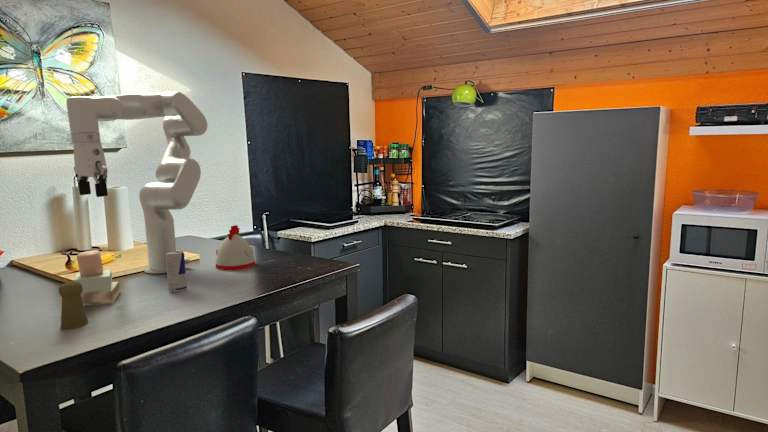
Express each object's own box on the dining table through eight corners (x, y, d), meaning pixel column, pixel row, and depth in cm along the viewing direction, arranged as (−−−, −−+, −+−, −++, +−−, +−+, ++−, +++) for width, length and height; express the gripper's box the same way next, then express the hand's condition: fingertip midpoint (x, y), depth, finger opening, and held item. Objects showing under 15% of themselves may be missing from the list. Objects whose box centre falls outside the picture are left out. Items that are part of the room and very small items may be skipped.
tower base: (120, 294, 161) (119, 281, 161) (112, 304, 151) (111, 291, 150) (80, 297, 158) (78, 284, 158) (69, 308, 148) (68, 294, 147)
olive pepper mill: (68, 321, 136) (63, 280, 134) (92, 320, 136) (88, 279, 135) (55, 329, 130) (50, 286, 128) (81, 328, 130) (76, 285, 129)
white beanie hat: (260, 262, 199) (258, 223, 197) (245, 270, 186) (243, 229, 183) (226, 261, 201) (223, 222, 199) (208, 270, 188) (206, 228, 186)
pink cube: (107, 269, 157) (103, 250, 155) (97, 276, 151) (93, 256, 149) (86, 269, 156) (82, 250, 155) (76, 277, 151) (72, 257, 149)
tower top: (112, 282, 160) (111, 269, 159) (110, 289, 152) (109, 276, 151) (78, 286, 156) (77, 273, 156) (75, 294, 148) (73, 280, 148)
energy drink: (190, 288, 164) (187, 250, 163) (178, 293, 159) (175, 254, 158) (176, 287, 166) (173, 250, 164) (164, 291, 161) (161, 253, 159)
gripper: (114, 137, 155) (121, 195, 158) (84, 138, 164) (91, 192, 168) (88, 139, 149) (96, 198, 152) (58, 139, 158) (66, 195, 161)
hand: (93, 195), depth 160 cm, fingers open, 9 cm apart
